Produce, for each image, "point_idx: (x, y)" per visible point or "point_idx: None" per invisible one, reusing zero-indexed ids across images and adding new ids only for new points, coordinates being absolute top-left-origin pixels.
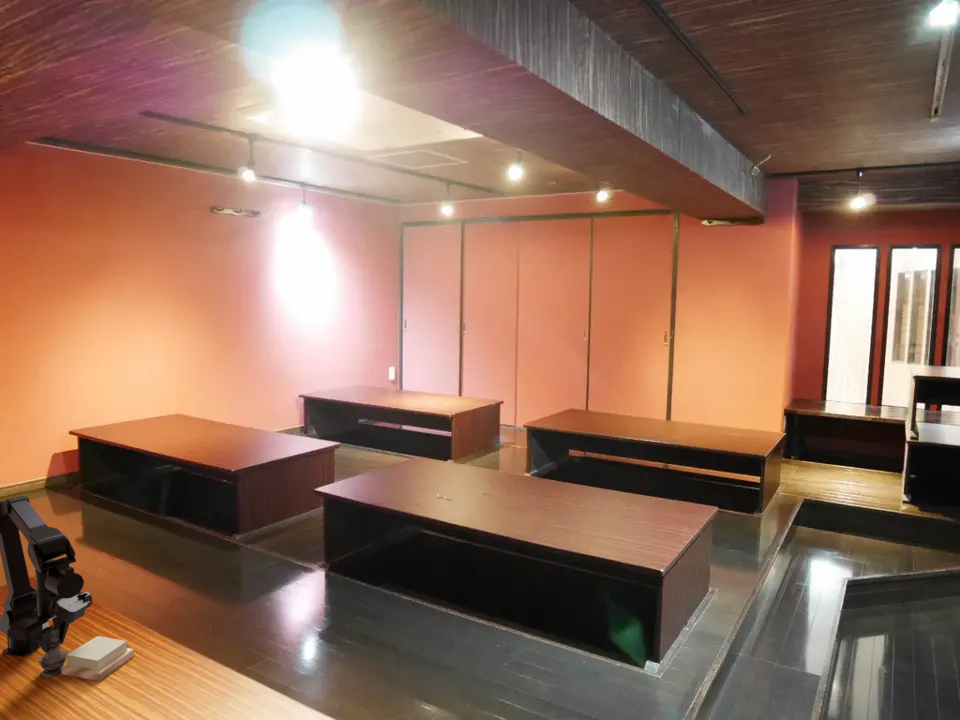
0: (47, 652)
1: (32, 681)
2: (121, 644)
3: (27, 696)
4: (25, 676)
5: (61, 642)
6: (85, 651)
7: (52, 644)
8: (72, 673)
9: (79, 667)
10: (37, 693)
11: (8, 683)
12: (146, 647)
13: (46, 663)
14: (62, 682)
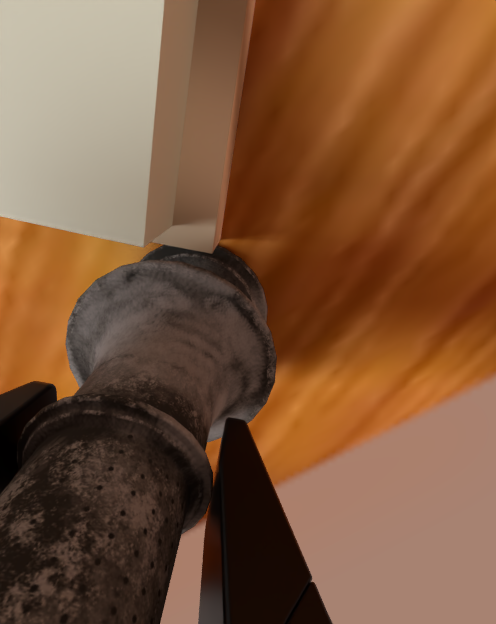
0: (245, 421)
1: (309, 363)
2: None
3: (477, 294)
4: (262, 424)
5: (43, 396)
6: (28, 60)
7: (174, 453)
8: (232, 136)
9: (198, 73)
10: (450, 252)
11: (327, 460)
12: None
13: (269, 358)
14: (321, 160)
